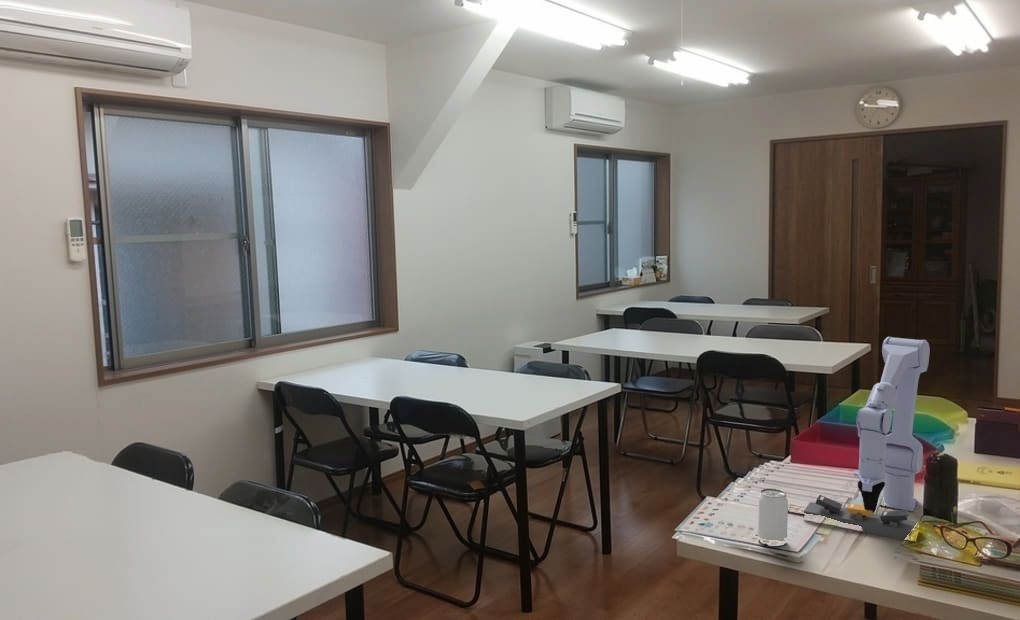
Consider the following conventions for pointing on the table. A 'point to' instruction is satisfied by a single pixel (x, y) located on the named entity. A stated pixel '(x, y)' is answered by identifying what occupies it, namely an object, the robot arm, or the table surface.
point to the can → (772, 514)
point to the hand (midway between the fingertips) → (870, 511)
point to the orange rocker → (859, 510)
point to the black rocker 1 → (828, 504)
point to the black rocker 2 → (894, 515)
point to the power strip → (866, 522)
